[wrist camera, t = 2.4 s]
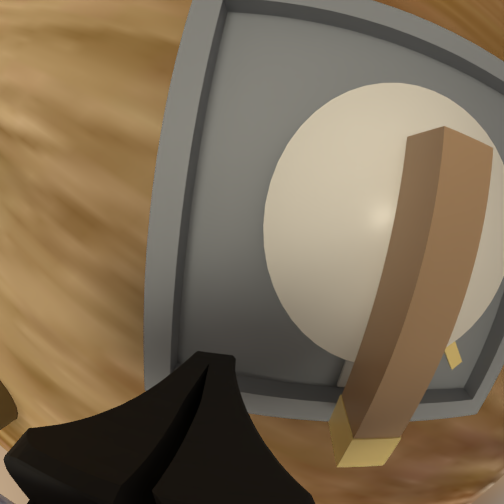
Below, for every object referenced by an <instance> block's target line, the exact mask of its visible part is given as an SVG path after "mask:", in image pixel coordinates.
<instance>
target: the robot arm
mask: <svg viewBox="0 0 504 504" xmlns="http://www.w3.org/2000/svg"><path fill="white" fill-rule="evenodd" d="M235 365H236V358H235V357H234V356H233V355H226V354H218V353H210V352H203V351H197V352H195V353H194V354H193V355H192V356H191V357H190V358H188V359H187V360H186V361H185V362H184V363H183V364H182V365H180V366H179V367H178V368H177V369H176V370H174V371H173V372H172V373H171V374H169V375H168V376H167V377H166V378H164V379H163V380H162V381H160V382H159V383H157V384H156V385H155V386H153V387H152V388H150V389H149V390H147V391H146V392H144V393H143V394H141V395H139V396H138V397H136V398H134V399H132V400H130V401H128V402H126V403H124V404H122V405H120V406H118V407H115V408H113V409H110V410H108V411H105V412H103V413H100V414H97V415H95V416H92V417H88V418H85V419H81V420H78V421H74V422H69V423H65V424H60V425H53V426H45V427H37V428H29V429H28V430H27V431H26V432H25V433H24V434H23V435H22V437H21V438H20V439H19V440H18V441H17V442H16V444H15V445H14V446H13V447H12V448H11V449H10V451H9V452H8V453H7V454H6V455H5V457H4V463H5V466H6V469H7V470H8V472H9V474H10V475H11V477H12V478H13V479H14V481H15V482H16V483H17V484H18V486H19V487H20V488H21V490H22V491H23V492H24V493H25V494H26V496H27V497H28V498H29V499H30V500H29V502H28V503H27V504H315V502H314V500H313V498H312V495H311V494H310V493H309V492H308V491H306V490H305V489H304V488H303V487H302V486H301V485H300V484H299V483H298V482H297V481H296V480H295V479H294V478H293V477H292V476H291V475H290V474H289V473H288V472H287V471H286V470H285V469H284V467H283V466H282V465H281V464H280V463H279V462H278V460H277V459H276V458H275V456H274V455H273V454H272V452H271V451H270V450H269V448H268V447H267V446H266V444H265V443H264V441H263V440H262V438H261V436H260V435H259V433H258V431H257V430H256V428H255V426H254V424H253V422H252V420H251V418H250V416H249V414H248V412H247V409H246V407H245V404H244V402H243V399H242V396H241V393H240V390H239V386H238V382H237V378H236V372H235ZM0 504H14V503H13V502H11V501H10V500H8V499H7V498H6V497H4V496H3V495H1V494H0Z"/></svg>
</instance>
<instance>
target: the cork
mask: <svg viewBox="0 0 504 504" xmlns="http://www.w3.org/2000/svg"><path fill="white" fill-rule="evenodd" d="M17 415H18V412H17V408H16V406H15V403H14V401H13V399H12V397H11V396H10V394H9V392H8V391H7V389H6V388H5V387H4V385H3V384H2V383H1V381H0V430H1V429H2V428H4V427H5V426H7V425H8V424H9V423H11V422H12V421H13V420H15V419H16V418H17Z"/></svg>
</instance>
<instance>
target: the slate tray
mask: <svg viewBox="0 0 504 504" xmlns="http://www.w3.org/2000/svg"><path fill="white" fill-rule="evenodd" d="M378 83H404V84H411V85H417V86H420V87H423V88H426V89H429V90H432V91H435V92H437V93H439V94H441V95H443V96H445V97H447V98H449V99H450V100H452V101H453V102H455V103H456V104H458V105H459V106H460V107H462V108H463V109H464V110H465V111H466V112H468V113H469V114H470V115H471V116H472V117H473V118H474V119H475V120H476V121H477V122H478V123H479V125H480V126H481V127H482V128H483V129H484V131H485V132H486V133H487V135H488V136H489V138H490V139H491V141H492V142H493V144H494V145H495V147H496V149H497V151H498V153H499V155H500V157H501V159H502V162H503V164H504V62H503V61H502V60H500V59H499V58H497V57H496V56H494V55H492V54H491V53H489V52H487V51H486V50H484V49H482V48H481V47H479V46H477V45H475V44H474V43H472V42H470V41H468V40H466V39H465V38H463V37H461V36H459V35H457V34H455V33H453V32H451V31H449V30H447V29H445V28H443V27H441V26H438V25H436V24H434V23H432V22H429V21H427V20H425V19H422V18H420V17H418V16H415V15H413V14H410V13H407V12H405V11H402V10H399V9H397V8H394V7H391V6H388V5H385V4H382V3H379V2H376V1H372V0H193V1H192V4H191V7H190V10H189V14H188V17H187V21H186V24H185V28H184V31H183V35H182V38H181V42H180V46H179V50H178V54H177V58H176V62H175V66H174V70H173V75H172V79H171V84H170V88H169V93H168V98H167V103H166V108H165V113H164V118H163V124H162V129H161V135H160V141H159V147H158V154H157V160H156V167H155V175H154V182H153V190H152V199H151V208H150V218H149V228H148V240H147V253H146V269H145V291H144V381H145V391H147V390H149V389H150V388H152V387H153V386H155V385H156V384H157V383H159V382H160V381H162V380H163V379H164V378H166V377H167V376H168V375H169V374H171V373H172V372H173V371H174V370H176V369H177V368H178V367H179V366H180V365H182V364H183V363H184V362H185V361H186V360H187V359H188V358H190V357H191V356H192V355H193V354H194V353H195V352H197V351H203V352H210V353H218V354H226V355H233V356H234V357H235V358H236V365H235V372H236V378H237V382H238V386H239V390H240V393H241V396H242V399H243V402H244V404H245V407H246V409H247V412H248V413H251V414H257V415H265V416H273V417H281V418H291V419H301V420H314V421H329V420H330V418H331V415H332V413H333V411H334V408H335V406H336V404H337V401H338V399H339V396H340V395H342V393H343V391H344V388H345V386H346V383H347V381H348V378H349V375H350V373H351V370H352V367H353V365H354V362H351V361H348V360H345V359H342V358H340V357H338V356H335V355H333V354H331V353H329V352H328V351H326V350H324V349H323V348H321V347H320V346H318V345H317V344H315V343H314V342H313V341H312V340H311V339H309V338H308V337H307V336H306V335H305V334H304V333H303V332H302V331H301V330H300V329H299V328H298V327H297V325H296V324H295V323H294V322H293V321H292V320H291V318H290V317H289V315H288V313H287V312H286V310H285V309H284V307H283V306H282V304H281V302H280V300H279V298H278V296H277V293H276V291H275V289H274V287H273V284H272V281H271V277H270V274H269V271H268V268H267V262H266V256H265V250H264V234H263V222H264V212H265V203H266V198H267V194H268V190H269V185H270V182H271V179H272V176H273V174H274V171H275V168H276V166H277V163H278V161H279V159H280V157H281V155H282V153H283V152H284V150H285V148H286V146H287V144H288V143H289V141H290V140H291V138H292V137H293V136H294V134H295V133H296V132H297V130H298V129H299V128H300V126H301V125H302V124H303V123H304V122H305V121H306V120H307V119H308V118H309V117H310V116H311V115H312V114H313V113H314V112H315V111H317V110H318V109H319V108H321V107H322V106H324V105H325V104H326V103H328V102H329V101H330V100H332V99H334V98H336V97H338V96H340V95H342V94H344V93H346V92H348V91H350V90H353V89H356V88H359V87H363V86H366V85H372V84H378ZM503 365H504V277H503V279H502V282H501V284H500V286H499V288H498V290H497V292H496V294H495V296H494V298H493V299H492V301H491V303H490V304H489V306H488V307H487V309H486V310H485V311H484V313H483V314H482V316H481V317H480V318H479V319H478V320H477V321H476V322H475V324H474V325H473V326H472V327H471V328H470V329H469V330H468V331H467V332H466V333H464V334H463V335H462V336H461V337H460V338H459V339H457V340H456V341H455V342H453V343H452V344H450V345H449V346H448V347H446V349H445V351H444V354H443V356H442V358H441V360H440V363H439V365H438V367H437V369H436V371H435V374H434V376H433V378H432V380H431V382H430V384H429V386H428V388H427V390H426V392H425V394H424V396H423V398H422V399H421V401H420V403H419V405H418V407H417V409H416V411H415V412H414V414H413V416H412V418H411V419H410V421H421V420H433V419H443V418H452V417H460V416H467V415H474V414H477V412H478V411H479V409H480V407H481V406H482V404H483V402H484V401H485V399H486V397H487V395H488V393H489V392H490V390H491V388H492V386H493V384H494V382H495V381H496V379H497V377H498V375H499V373H500V371H501V369H502V367H503Z"/></svg>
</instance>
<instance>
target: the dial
mask: <svg viewBox="0 0 504 504" xmlns="http://www.w3.org/2000/svg"><path fill="white" fill-rule="evenodd" d="M263 234H264V250H265V256H266V262H267V268H268V271H269V274H270V277H271V281H272V284H273V287H274V289H275V291H276V293H277V296H278V298H279V300H280V302H281V304H282V306H283V307H284V309H285V310H286V312H287V313H288V315H289V317H290V318H291V320H292V321H293V322H294V323H295V324H296V325H297V327H298V328H299V329H300V330H301V331H302V332H303V333H304V334H305V335H306V336H307V337H308V338H309V339H311V340H312V341H313V342H314V343H315V344H317V345H318V346H320V347H321V348H323V349H324V350H326V351H328V352H329V353H331V354H333V355H335V356H338V357H340V358H342V359H345V360H348V361H351V362H354V365H353V367H352V370H351V373H350V375H349V378H348V381H347V383H346V386H345V388H344V391H343V393H342V395H340V396H339V399H338V401H337V404H336V406H335V408H334V411H333V413H332V415H331V418H330V420H329V422H328V424H329V429H330V434H331V439H332V445H333V450H334V456H335V461H336V467H363V466H380V465H384V463H385V462H386V461H387V459H388V458H389V456H390V455H391V453H392V452H393V450H394V449H395V447H396V446H397V444H398V443H399V441H400V439H401V434H402V433H403V431H404V430H405V428H406V426H407V424H408V423H409V421H410V419H411V418H412V416H413V414H414V412H415V411H416V409H417V407H418V405H419V403H420V401H421V399H422V398H423V396H424V394H425V392H426V390H427V388H428V386H429V384H430V382H431V380H432V378H433V376H434V374H435V371H436V369H437V367H438V365H439V363H440V360H441V358H442V356H443V354H444V351H445V349H446V347H448V346H449V345H450V344H452V343H453V342H455V341H456V340H457V339H459V338H460V337H461V336H462V335H463V334H464V333H466V332H467V331H468V330H469V329H470V328H471V327H472V326H473V325H474V324H475V322H476V321H477V320H478V319H479V318H480V317H481V316H482V314H483V313H484V311H485V310H486V309H487V307H488V306H489V304H490V303H491V301H492V299H493V298H494V296H495V294H496V292H497V290H498V288H499V286H500V284H501V282H502V279H503V277H504V164H503V162H502V159H501V157H500V155H499V153H498V151H497V149H496V147H495V145H494V144H493V142H492V141H491V139H490V138H489V136H488V135H487V133H486V132H485V131H484V129H483V128H482V127H481V126H480V125H479V123H478V122H477V121H476V120H475V119H474V118H473V117H472V116H471V115H470V114H469V113H468V112H466V111H465V110H464V109H463V108H462V107H460V106H459V105H458V104H456V103H455V102H453V101H452V100H450V99H449V98H447V97H445V96H443V95H441V94H439V93H437V92H435V91H432V90H429V89H426V88H423V87H420V86H417V85H411V84H404V83H378V84H372V85H366V86H363V87H359V88H356V89H353V90H350V91H348V92H346V93H344V94H342V95H340V96H338V97H336V98H334V99H332V100H330V101H329V102H328V103H326V104H325V105H324V106H322V107H321V108H319V109H318V110H317V111H315V112H314V113H313V114H312V115H311V116H310V117H309V118H308V119H307V120H306V121H305V122H304V123H303V124H302V125H301V126H300V128H299V129H298V130H297V132H296V133H295V134H294V136H293V137H292V138H291V140H290V141H289V143H288V144H287V146H286V148H285V150H284V152H283V153H282V155H281V157H280V159H279V161H278V163H277V166H276V168H275V171H274V174H273V176H272V179H271V182H270V185H269V190H268V194H267V198H266V203H265V212H264V222H263Z"/></svg>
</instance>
